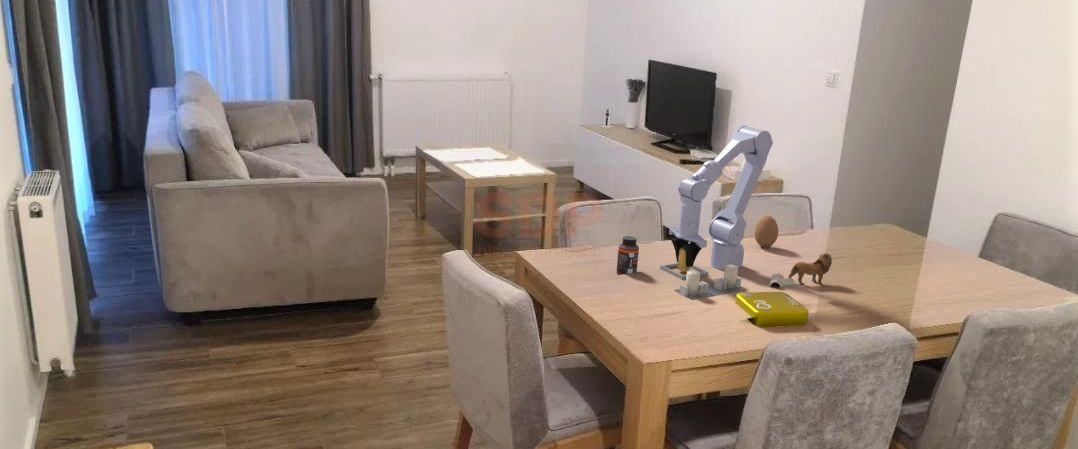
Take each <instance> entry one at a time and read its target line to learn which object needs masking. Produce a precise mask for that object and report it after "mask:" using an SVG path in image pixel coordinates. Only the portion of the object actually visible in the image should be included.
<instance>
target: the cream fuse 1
mask: <svg viewBox="0 0 1078 449" xmlns="http://www.w3.org/2000/svg"><path fill="white" fill-rule="evenodd" d="M685 275H686V279H685V284H684V285H685V286H687V287H689V290H688V295H691V296H696V295H698V288H699V283H700V280H701V279H700V278H701V276H700V272H698V271H696V270H689V271H686V274H685Z"/></svg>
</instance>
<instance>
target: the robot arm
mask: <svg viewBox="0 0 1078 449" xmlns="http://www.w3.org/2000/svg"><path fill="white" fill-rule="evenodd" d="M773 144H774V142H773V137H772V135H771V133H770V132H769V131H768V130H764V129H763V130H762V129H758V128H754V127H749V126H748V125H740V127H738V128H737V129H736V131H734V132H732V139H731V140H730V142H729V143H727V145H726V146H725V147H724V148H723V149H722V151H721V152H720V153H719V154H718V155H717V156H716V157H715V158H714V160H707V161H705V162H704V163H703V165H702V166H701V167H700V168H699V169H697V170H696V172H695V173H693V174H692V175H691V177H688V178H687V177H686V178H684V179H683V180H682V181H680V182H681V183H680V185H679V186H678V187H677V190H678V193H679V195H680V202H681V204H680V211H679V212H680V213H679V222H678V227H676V226H674V227H669V230H668V233H669V235H671V236H675V237H673V238H671V243H672V245H673V247H674V251H675V258H676V263H678V259H679V250H680V248H682V247H683V246H685V250H686V266H687V267H691V266H693V265H695V261H696V259H697V257H698V255H699V253H700V251H702V249H704V248H707V246H708V240H707V239H704V238H703V237H702V236H700V234H699V228H700V220H701V211H702V202H703V200H704V199H706V198H707V195H708V193H709V190H710V188H711V186H712V185H713V184H714V183H715V182H716V181H718V179H719V178H720V177H722V175H723V169H724V168H725V167H726V166H727V165H728V164H729V163H731V162H732V161H733V160H735V158H737V157H738V156H739V155H740V154H743V156H744V158H745V163H744V165H743V167H742V170H741V172H740V174H739V176H738V179H737V180H736V183H735V185H734V188H733V190H732V192H731V195H730V197H729V199H728V202H727V204H726V206H725V208H724V209H722V210H720V211H718V212H716V215H715V217H714V218H713V219H712V220H711V222H710V223H709V225H708V234H709V235H710V237H711V241H712V243H711V244H712V245H711V252H710V254H711V255H710V263H709V266H710V267H712V268H714V269H716V270H723V271H725V265H729V264H730V265H736V266H738V268H742V267H743V262H744V255H745V248H744V246H743V244H742V241H743V240H744V237H745V231H746V230H745V229H746V227H747V222H746V220H745V218H744V216H743V215H744V214H745V211H746V208H747V206H748V205H749V202H750V199H751V197H752V195H753V193H754V190H755V188H756V186H757V184H758V181H759V178H760V177H761V174H762V172H763V170H764V168H765V165H766V163H767V159H768V156H769V153H770V151H771V148H772V146H773ZM731 221H732V222H731Z"/></svg>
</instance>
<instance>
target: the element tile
mask: <svg viewBox="0 0 1078 449" xmlns="http://www.w3.org/2000/svg"><path fill="white" fill-rule="evenodd" d="M734 301H735V304H736V305H737V306H738V307H740V309H741V310H743V311H744V312H745V313H746V314H748V315H749V317H747V318H746V319H747V321H749V323H751V324H752V325H753V326H756V327H758V328H775V327H776V326H784V327H804V326H807V325H808V318H809V309H807V308H806V307H805V306H804V305H802V303H800V302H798V301H797V300H796V299H794V298H793V297H792V296H791V295H789V294H788V293H787V292H785V291H784V292H783V291H756V292H755V291H752V292H747V291H745V292H744V291H742V292H736V293H735V300H734ZM806 324H807V325H806Z"/></svg>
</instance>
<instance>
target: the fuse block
mask: <svg viewBox="0 0 1078 449" xmlns="http://www.w3.org/2000/svg"><path fill="white" fill-rule="evenodd" d="M713 280H714V282H712V283H707V282H705V281H704V280H702V281H700V280H699V288H698V295H696V296H691V295H688V290H689V287H687V286H685V284H680V286H679V288H677V289H673V291H674V292H676V293H678V294H680V295H682V296H684V297H686V298H688V299H690V300H692V301H694V300H698V299H699V300H700V299H705V298H711V297H717V296H721V295H727V294H732V293H740V292H744V291H747V289H746V288H744V287H742V286H741V284H742V277H739V276H738V275H737V281H736V288H734V289H728V288H727V280H725V279H724V277H719V278H715V279H713Z"/></svg>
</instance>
